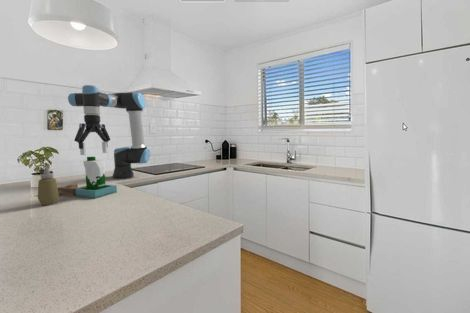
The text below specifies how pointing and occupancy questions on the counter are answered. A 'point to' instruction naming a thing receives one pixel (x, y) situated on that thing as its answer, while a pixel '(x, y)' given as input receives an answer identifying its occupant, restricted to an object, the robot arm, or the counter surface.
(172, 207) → the counter surface
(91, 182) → the soya milk
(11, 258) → the counter surface
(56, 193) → the squeeze bottle
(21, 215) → the counter surface
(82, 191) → the tray
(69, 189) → the dock
